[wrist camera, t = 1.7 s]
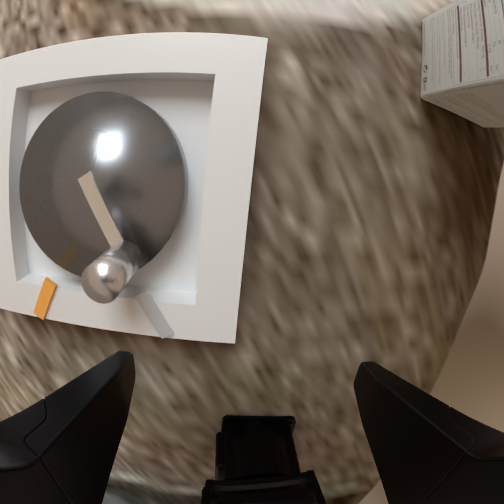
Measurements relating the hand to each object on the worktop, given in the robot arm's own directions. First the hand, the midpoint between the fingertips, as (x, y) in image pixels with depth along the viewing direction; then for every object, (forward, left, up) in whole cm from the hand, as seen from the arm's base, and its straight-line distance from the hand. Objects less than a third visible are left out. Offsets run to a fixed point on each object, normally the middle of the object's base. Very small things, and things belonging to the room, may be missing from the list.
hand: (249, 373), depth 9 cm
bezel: (+9, -4, -12) cm, 15 cm away
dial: (+9, -4, -11) cm, 14 cm away
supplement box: (-15, -16, -12) cm, 25 cm away
